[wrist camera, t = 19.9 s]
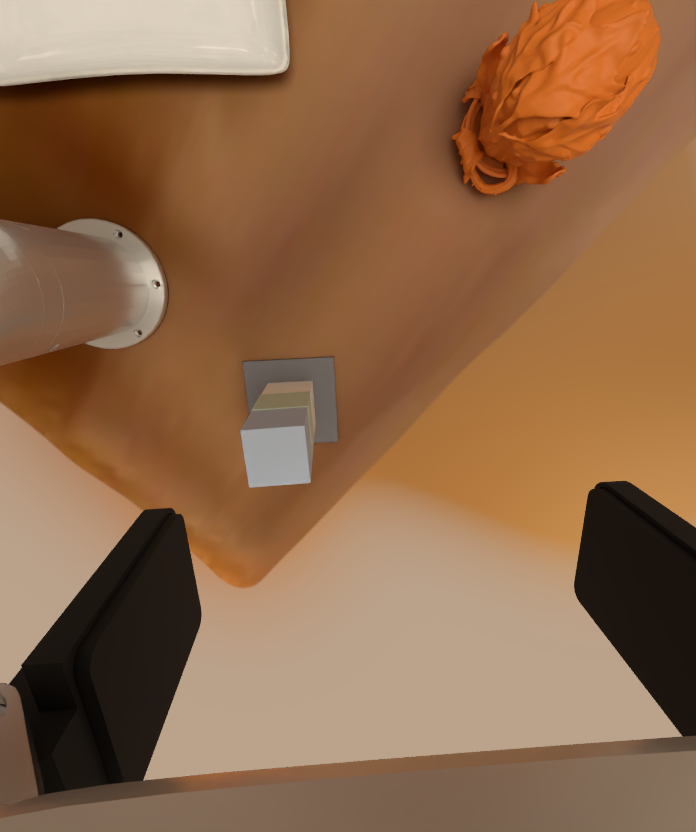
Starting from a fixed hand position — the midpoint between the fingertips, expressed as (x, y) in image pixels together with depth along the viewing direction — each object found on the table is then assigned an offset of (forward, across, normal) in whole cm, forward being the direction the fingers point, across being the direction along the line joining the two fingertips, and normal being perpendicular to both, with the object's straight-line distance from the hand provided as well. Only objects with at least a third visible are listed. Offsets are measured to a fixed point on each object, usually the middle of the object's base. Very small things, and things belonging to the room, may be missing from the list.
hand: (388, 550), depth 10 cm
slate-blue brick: (+28, +6, +8) cm, 30 cm away
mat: (+38, +6, +8) cm, 39 cm away
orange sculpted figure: (+38, -16, -18) cm, 45 cm away
